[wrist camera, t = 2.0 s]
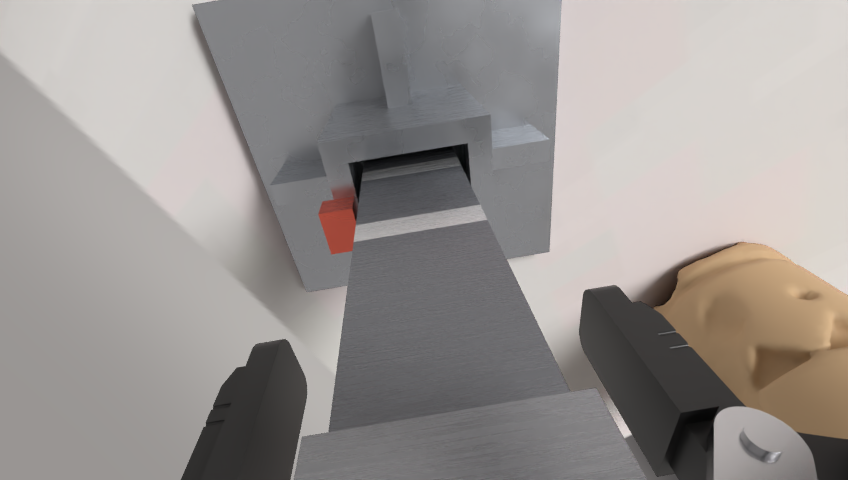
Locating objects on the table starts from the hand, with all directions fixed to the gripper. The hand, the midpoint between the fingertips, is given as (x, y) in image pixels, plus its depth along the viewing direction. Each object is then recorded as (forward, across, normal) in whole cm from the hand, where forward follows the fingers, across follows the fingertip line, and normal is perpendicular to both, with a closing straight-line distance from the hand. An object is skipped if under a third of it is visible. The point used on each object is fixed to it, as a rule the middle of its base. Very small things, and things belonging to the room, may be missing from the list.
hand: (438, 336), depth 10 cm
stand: (+16, 0, 0) cm, 16 cm away
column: (+14, 0, 0) cm, 14 cm away
